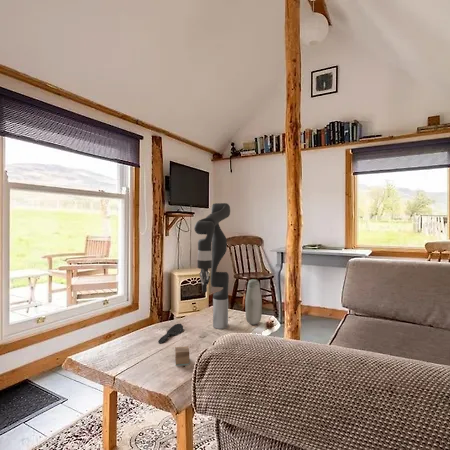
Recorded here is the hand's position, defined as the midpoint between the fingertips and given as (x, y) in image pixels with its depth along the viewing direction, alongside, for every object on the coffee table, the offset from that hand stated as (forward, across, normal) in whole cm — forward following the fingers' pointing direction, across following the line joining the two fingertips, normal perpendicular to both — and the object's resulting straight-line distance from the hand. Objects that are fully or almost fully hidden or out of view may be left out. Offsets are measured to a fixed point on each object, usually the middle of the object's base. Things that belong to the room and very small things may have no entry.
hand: (204, 291), depth 167 cm
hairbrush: (+28, +16, +15) cm, 36 cm away
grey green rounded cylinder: (+27, +20, -37) cm, 50 cm away
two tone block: (+21, -19, +15) cm, 32 cm away
